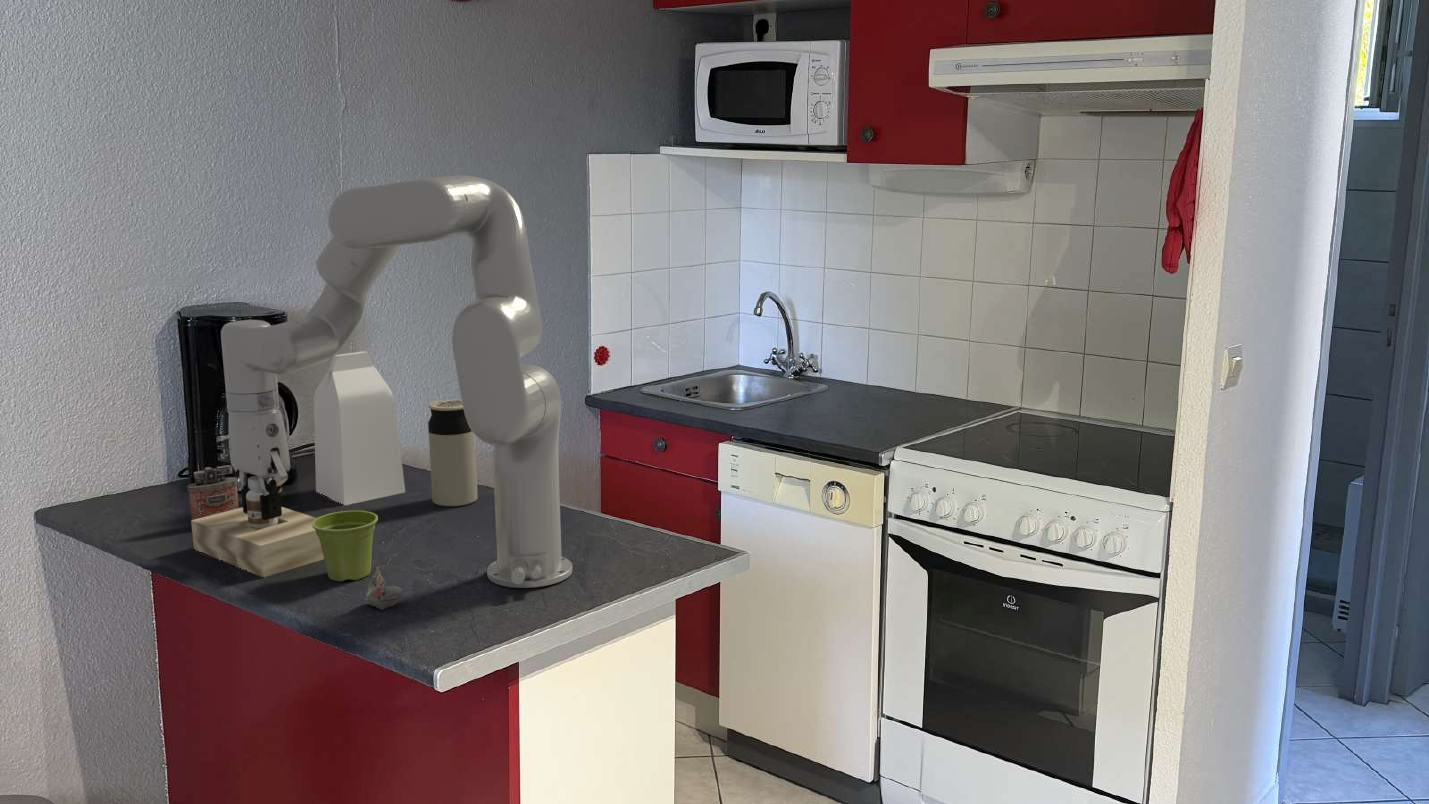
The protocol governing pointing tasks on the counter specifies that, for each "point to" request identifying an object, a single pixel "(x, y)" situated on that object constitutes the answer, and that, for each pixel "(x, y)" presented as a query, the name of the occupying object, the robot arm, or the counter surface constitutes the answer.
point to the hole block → (258, 541)
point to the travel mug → (451, 455)
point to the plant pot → (346, 543)
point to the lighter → (213, 492)
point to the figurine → (383, 593)
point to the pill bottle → (256, 505)
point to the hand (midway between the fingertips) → (262, 513)
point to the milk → (356, 433)
